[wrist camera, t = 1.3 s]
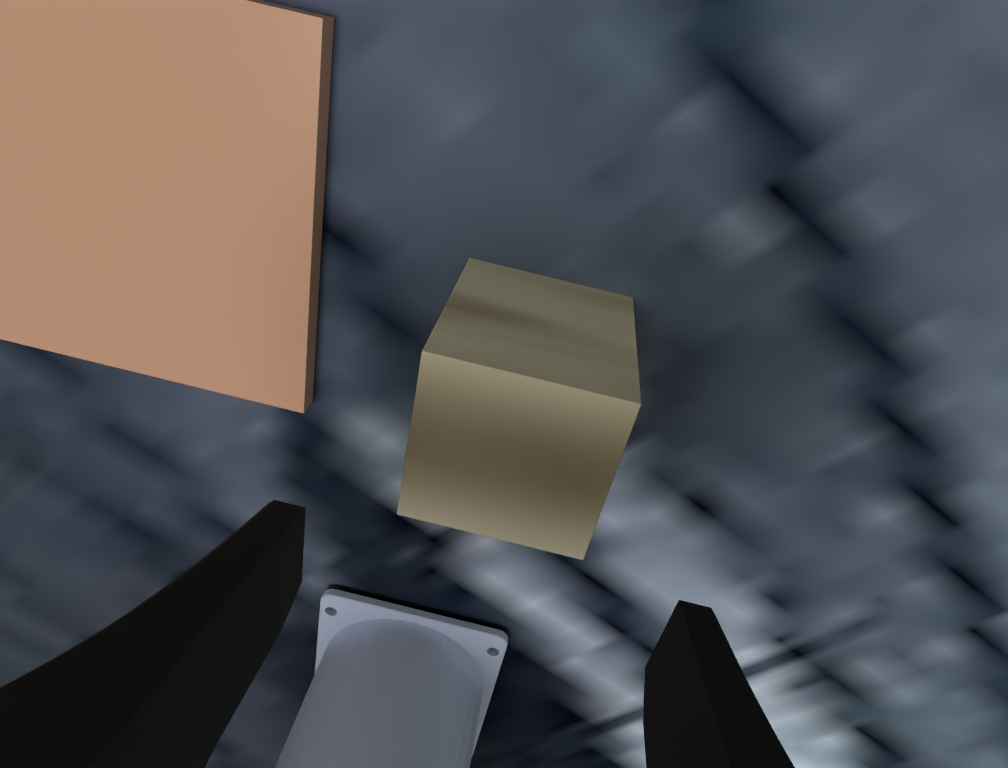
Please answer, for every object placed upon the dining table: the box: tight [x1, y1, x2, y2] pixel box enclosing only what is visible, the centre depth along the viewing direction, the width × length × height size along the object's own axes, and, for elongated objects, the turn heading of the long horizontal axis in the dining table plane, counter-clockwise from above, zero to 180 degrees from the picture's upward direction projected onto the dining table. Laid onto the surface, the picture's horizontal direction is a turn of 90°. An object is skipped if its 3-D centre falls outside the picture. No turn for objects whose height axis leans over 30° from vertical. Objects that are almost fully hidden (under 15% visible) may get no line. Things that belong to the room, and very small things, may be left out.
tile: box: [0, 0, 334, 413], centre depth 20 cm, size 12×12×1 cm
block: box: [397, 258, 641, 560], centre depth 19 cm, size 5×5×6 cm
